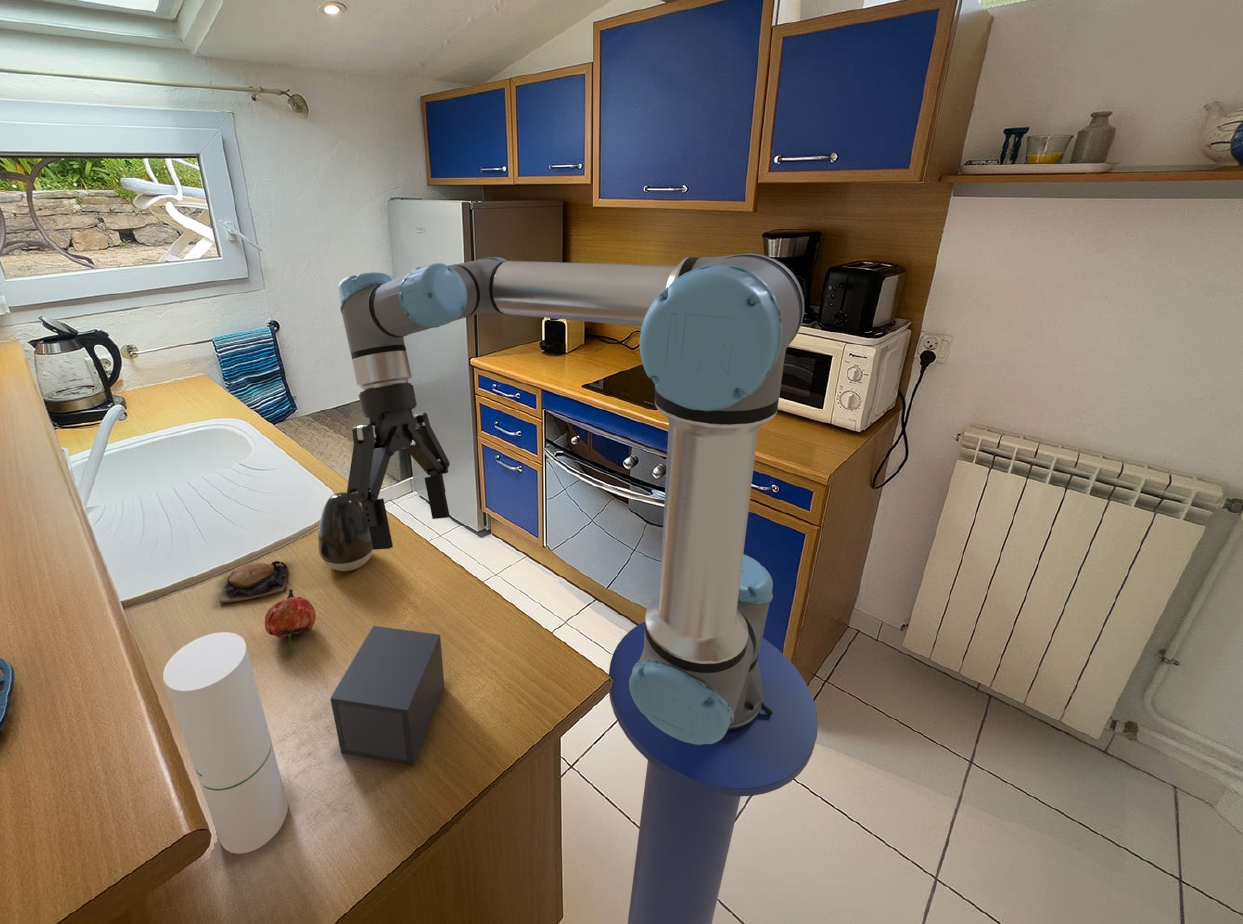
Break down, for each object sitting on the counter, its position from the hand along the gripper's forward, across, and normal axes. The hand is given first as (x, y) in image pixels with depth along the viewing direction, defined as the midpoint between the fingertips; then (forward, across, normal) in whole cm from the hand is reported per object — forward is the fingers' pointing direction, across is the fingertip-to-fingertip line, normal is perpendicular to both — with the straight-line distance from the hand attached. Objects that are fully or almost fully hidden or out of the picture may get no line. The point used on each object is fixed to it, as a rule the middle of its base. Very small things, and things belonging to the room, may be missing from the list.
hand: (414, 532), depth 79 cm
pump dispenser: (+10, -17, -30) cm, 36 cm away
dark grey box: (+24, +6, -5) cm, 25 cm away
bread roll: (+9, -5, -42) cm, 43 cm away
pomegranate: (+16, +1, -27) cm, 32 cm away
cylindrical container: (+26, +22, -13) cm, 37 cm away
